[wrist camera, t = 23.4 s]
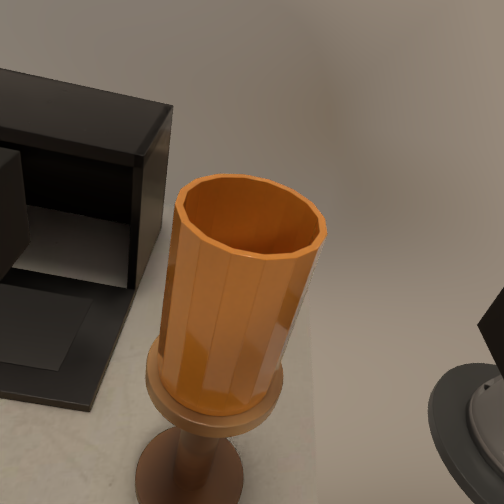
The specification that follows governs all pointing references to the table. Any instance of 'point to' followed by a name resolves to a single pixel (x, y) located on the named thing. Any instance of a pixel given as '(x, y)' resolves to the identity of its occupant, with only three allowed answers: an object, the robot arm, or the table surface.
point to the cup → (234, 289)
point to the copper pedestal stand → (195, 448)
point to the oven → (81, 203)
